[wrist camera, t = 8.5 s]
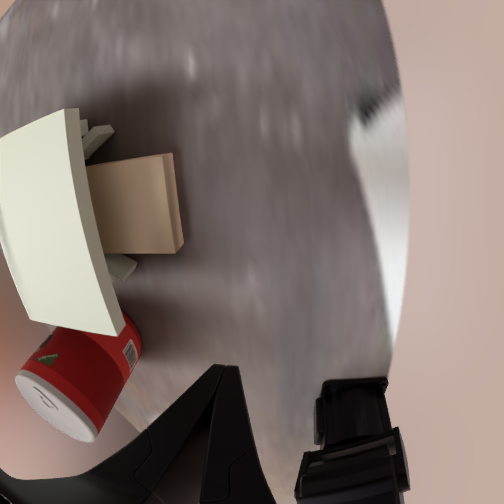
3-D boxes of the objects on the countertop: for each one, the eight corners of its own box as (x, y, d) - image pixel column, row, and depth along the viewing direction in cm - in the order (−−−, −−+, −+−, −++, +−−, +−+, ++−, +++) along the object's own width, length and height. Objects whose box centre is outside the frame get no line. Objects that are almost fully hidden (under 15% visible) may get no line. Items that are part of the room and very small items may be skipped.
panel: (175, 152, 18) (162, 156, 16) (185, 240, 21) (175, 253, 19) (66, 169, 20) (49, 176, 18) (81, 242, 22) (66, 253, 20)
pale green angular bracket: (132, 107, 17) (63, 108, 10) (159, 279, 22) (117, 336, 16) (46, 133, 18) (-19, 149, 12) (76, 276, 23) (30, 319, 17)
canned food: (99, 282, 23) (23, 365, 13) (160, 345, 25) (111, 441, 15) (67, 315, 26) (8, 385, 16) (120, 367, 28) (75, 444, 18)
